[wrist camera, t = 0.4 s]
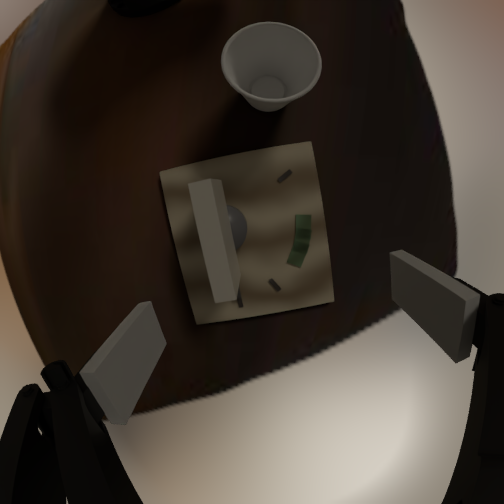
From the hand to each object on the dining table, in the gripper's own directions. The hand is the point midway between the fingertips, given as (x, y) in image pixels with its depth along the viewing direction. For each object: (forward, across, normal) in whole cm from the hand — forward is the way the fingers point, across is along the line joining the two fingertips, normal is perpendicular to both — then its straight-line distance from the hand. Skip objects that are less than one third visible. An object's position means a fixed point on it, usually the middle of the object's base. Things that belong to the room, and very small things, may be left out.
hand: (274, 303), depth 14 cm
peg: (+23, -5, 0) cm, 23 cm away
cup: (+24, +4, +18) cm, 31 cm away
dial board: (+24, -2, -1) cm, 24 cm away
